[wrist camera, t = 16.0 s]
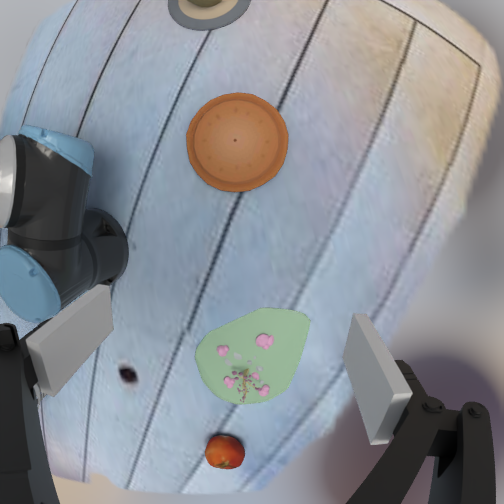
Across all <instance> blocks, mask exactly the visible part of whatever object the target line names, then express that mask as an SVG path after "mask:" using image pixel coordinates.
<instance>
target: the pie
mask: <svg viewBox="0 0 504 504" xmlns="http://www.w3.org/2000/svg"><path fill="white" fill-rule="evenodd" d="M186 139H187V150H188V155H189V160H190V163H191V165H192V166H193V168H194V169H195V171H196V173H197V174H198V175H199V176H200V177H201V178H202V179H203V180H204V181H205V182H206V183H207V184H209V185H211V186H213V187H215V188H217V189H219V190H222V191H229V192H241V191H250V190H252V189H254V188H256V187H259V186H261V185H263V184H265V183H266V182H267V181H269V180H270V179H272V178H273V177H275V175H276V174H277V173H278V171H279V170H280V168H281V167H282V165H283V163H284V160H285V157H286V153H287V148H288V132H287V129H286V125H285V122H284V120H283V118H282V117H281V115H280V114H279V112H278V111H277V109H275V108H274V107H273V106H272V105H270V104H269V103H268V102H266V101H265V100H263V99H261V98H259V97H257V96H255V95H253V94H246V93H231V94H225V95H222V96H219V97H217V98H214V99H212V100H210V101H209V102H208V103H207V104H205V105H204V106H203V107H202V108H201V109H199V111H198V112H197V114H196V115H195V116H194V118H193V119H192V121H191V123H190V125H189V128H188V131H187V134H186Z"/></svg>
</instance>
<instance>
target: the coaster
mask: <svg viewBox="0 0 504 504" xmlns="http://www.w3.org/2000/svg"><path fill="white" fill-rule="evenodd" d="M250 2H251V0H222V1H221V2H220V3H218V4H217V5H215V6H212V7H199V6H197V5H195V4H193V3H191V2H189V1H187V0H168V9H169V12H170V14H171V16H172V17H173V19H174V20H175V21H176V22H177V23H178V24H180V25H181V26H183V27H186V28H188V29H192V30H202V31H204V30H213V29H218V28H221V27H224V26H226V25H228V24H231V23H232V22H234V21H236V20H237V19H238V18H240V17H241V16H242V15H243V14H244V12H245V11H246V10H247V8H248V7H249V4H250Z"/></svg>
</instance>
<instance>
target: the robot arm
mask: <svg viewBox="0 0 504 504" xmlns="http://www.w3.org/2000/svg"><path fill="white" fill-rule="evenodd" d="M93 160H94V148H93V146H92V145H91V144H90V143H89V142H87V141H85V140H82V139H79V138H76V137H73V136H70V135H66V134H63V133H59V132H55V131H51V130H47V129H42V128H39V127H35V126H30V125H23V126H22V127H21V130H19V136H17V135H6V136H5V137H4V138H3V139H2V140H1V141H0V228H8V242H7V245H4V246H2V247H1V248H0V295H1V297H2V299H3V300H4V301H5V303H6V305H7V306H8V307H9V308H10V309H11V310H12V311H13V312H14V313H15V314H16V315H17V316H19V317H20V318H22V319H24V320H26V321H28V322H33V323H39V322H42V321H43V322H42V323H41V324H39V325H38V327H35V328H34V329H33V331H30V332H29V333H28V334H26V335H25V336H24V337H23V338H21V339H20V340H19V337H18V333H17V329H16V326H15V325H13V324H10V323H3V324H0V504H60V502H59V499H58V496H57V493H56V490H55V486H54V483H53V479H52V475H51V472H50V468H49V464H48V460H47V455H46V451H45V446H44V441H43V436H42V431H41V426H40V420H39V413H38V407H37V399H36V392H35V389H34V385H35V384H36V383H37V382H38V383H39V386H40V389H41V392H43V393H45V394H48V395H50V396H53V397H55V396H56V395H57V393H58V392H59V391H60V390H61V389H62V387H63V386H64V385H65V384H66V383H67V382H68V380H69V379H70V378H71V377H72V376H73V375H74V374H75V372H76V371H77V370H78V369H79V368H80V367H81V366H82V364H83V363H84V362H85V361H86V360H87V359H88V358H89V356H90V355H91V354H92V353H93V352H94V351H95V350H96V349H97V348H98V346H99V345H100V344H101V343H102V342H103V341H104V340H105V339H106V338H107V336H108V335H109V334H110V333H111V332H112V331H113V330H114V328H113V318H112V308H111V297H110V286H109V285H111V284H112V283H114V282H115V281H116V280H118V279H119V278H120V276H121V275H122V274H123V272H124V270H125V268H126V265H127V261H128V244H127V240H126V236H125V234H124V232H123V230H122V228H121V226H120V225H119V223H118V222H117V221H116V220H115V219H114V218H113V217H112V216H111V215H110V214H108V213H107V212H105V211H103V210H100V209H95V208H89V209H85V208H86V201H87V195H88V189H89V183H90V178H92V175H93V174H92V166H93ZM86 290H89V291H88V292H87V293H85V294H84V295H83V296H81V297H80V298H79V299H77V300H76V301H75V302H73V303H72V304H71V305H69V306H68V307H67V308H65V309H64V310H63V311H61V310H62V309H63V308H64V307H66V306H67V305H68V304H69V303H71V302H72V301H73V300H75V299H76V298H77V297H78V296H80V295H81V294H82V293H84V292H85V291H86ZM59 311H61V312H60V313H59V314H57V313H58V312H59ZM56 314H57V315H56ZM54 315H56V316H55V317H54V318H50V319H48V318H49V317H51V316H54ZM46 319H48V320H46ZM44 320H45V321H44ZM342 358H343V361H344V364H345V367H346V370H347V372H348V375H349V378H350V381H351V384H352V387H353V390H354V394H355V397H356V400H357V403H358V406H359V409H360V412H361V415H362V418H363V422H364V425H365V428H366V431H367V434H368V438H369V441H370V444H371V445H375V444H386V443H388V442H389V440H390V438H391V436H392V434H394V439H393V440H392V442H391V444H390V445H389V447H388V448H387V449H386V451H385V453H384V454H383V456H382V457H381V458H380V460H379V461H378V463H377V464H376V465H375V467H374V468H373V470H372V471H371V472H370V474H369V475H368V476H367V478H366V479H365V480H364V482H363V483H362V484H361V485H360V487H359V488H358V489H357V490H356V492H355V493H354V494H353V495H352V497H351V498H350V499H349V500H348V502H347V503H346V504H401V502H402V500H403V499H404V497H405V495H406V494H407V492H408V490H409V488H410V486H411V485H412V483H413V481H414V479H415V477H416V475H417V474H418V472H419V469H420V468H421V466H422V464H423V462H424V460H425V458H426V456H435V461H434V469H433V476H432V483H431V489H430V495H429V501H428V504H496V483H495V461H494V451H493V450H494V449H493V439H492V431H491V423H490V416H489V412H488V410H487V409H486V408H485V406H483V405H482V404H480V403H477V402H467V403H465V404H464V405H463V407H462V408H461V410H460V411H456V410H448V409H446V408H445V406H444V404H443V403H442V402H441V401H440V400H438V399H436V398H434V397H430V396H428V395H427V394H426V392H425V390H424V389H423V387H422V385H421V384H420V382H419V380H417V377H416V376H415V374H414V372H413V371H412V369H411V367H410V366H409V365H408V364H406V363H405V362H404V361H403V360H394V359H393V357H392V356H391V354H390V352H389V350H388V349H387V347H386V345H385V344H384V342H383V340H382V339H381V337H380V335H379V334H378V332H377V330H376V329H375V327H374V325H373V324H372V322H371V320H370V319H369V317H368V315H367V314H355V313H353V317H352V321H351V325H350V329H349V333H348V338H347V342H346V345H345V349H344V353H343V357H342Z"/></svg>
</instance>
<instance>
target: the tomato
mask: <svg viewBox="0 0 504 504" xmlns="http://www.w3.org/2000/svg"><path fill="white" fill-rule="evenodd" d="M205 456H206V459H207V461H208V463H209V464H210V465H211V466H213V467H216V468H221V469H233V468H236V467H239V466H240V465H241V464H242V462H243V460H244V457H245V450H244V447H243V446H242V445H241V443H240V442H239V441H237V440H236V439H235V438H233V437H230V436H223V435H218V436H216V437H213V438H211V439H210V440H209V442H208V444H207V447H206V450H205Z"/></svg>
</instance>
